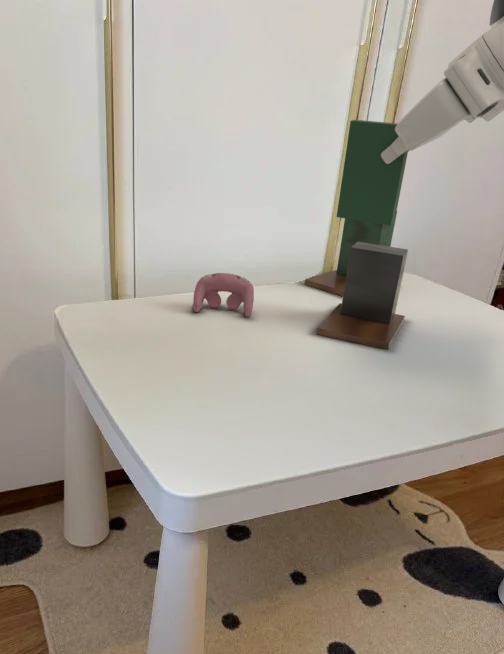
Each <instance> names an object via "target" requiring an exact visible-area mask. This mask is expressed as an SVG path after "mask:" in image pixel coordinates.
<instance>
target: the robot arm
mask: <svg viewBox="0 0 504 654" xmlns="http://www.w3.org/2000/svg"><path fill="white" fill-rule="evenodd" d="M489 26H490V29H489V30H487V31H485V32H484V33H482V34H481V35H480V36H479V37H478V38H477V39H476V40H474V41H473V42H472V43H470V44H469V45H468V46H467V47H466V48H464V50H463V51H461V52H460V53H459V54H458V55H457V56H455V57H454V58H453V59H452V60H451V61H450V62H448V66H447V68H446V69H445V70H444V72H443V76H444V78H443V79H441V80H440V81H439V82H438V83H437V84H436V85H434V86H433V88H431V90H429V91H428V92H427V93H426V94H425V95H424V96H423V97H422V98H421V99H420V100H419V101H418V102H417V103H416V104H415V105H414V106H413V107H412V108H411V109H410V110H409V111H408V112H407V113H406V114H405V115H404V116H403V117H402V118H401V119H400V120H399V122H397V123H396V124H397V126H396V127H395V131H396V133H397V135H398V136H399V137H398V138H397V139H396V140H395V141H394V142H393V143H392V144H391V145H390V146H389V147H388V148H387V149H386V150H384V151H383V152H382V153H381V157H382V159H383V160H384V162H385V163H386V164H389V163H391V162H393V161H394V160H395V159H397V158H398V157H399V156H400V155H402V154H403V153H404V152H406V151H407V150H408V152H412V151H414V150H416V149H418V148H421V147H423V146H424V145H427V144H429V143H431V142H433V141H436V140H438V139H440V138H441V137H443V136H444V135H445V134H447V133H448V132H450V131H451V130H452V129H453V128H454V127H456V126H457V125H458V124H460V123H461V122H463V121H466V122H468V123H469V124H471V123H473V122H474V121H476V119H479V118H480V119H483V120H484V121H485V122H491V121H492V120H493V119H494V118H496V117H497V116H498V115H499V114H501V113H502V112H503V111H504V0H493V3H492V7H491V9H490V16H489Z"/></svg>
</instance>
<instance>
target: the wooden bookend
mask: <svg viewBox="0 0 504 654" xmlns="http://www.w3.org/2000/svg"><path fill="white" fill-rule="evenodd" d="M408 254H409V249H407V248H402V247H395V246H390V247H389V246H383V245H376V244H370V243H364V242H357V243H356V244H354V245H353V246H352V247H351V251H350V257H349V263H348V269H347V275H346V281H345V287H344V294H343V296H342V300H341V303H340V302H339V303H338V304H337V305H336V307H334V309H333V310H332V311H330V313H329V314H328V315H327V317H326V318H325V319H324V320H323V321H322V322H321V323H320V324H319V325H318V327H317V328H316V335H320V336H323V337H328V338H333V339H337V340H342V341H347V342H352V343H355V344H361V345H364V346H365V345H367V346H371V347H375V348H379V349H383V350H389V348H390V347H391V345H392V343H393V341H394V340H395V338H396V336H397V334H398V332H399V331H400V329H401V327H402V325H403V324H404V322H405V318H406V316H405V315H402V314H398V313H396V310H397V306H398V302H399V301H398V300H399V298H400V297H399V296H400V291H401V286H402V281H403V277H404V271H405V267H406V263H407V262H406V261H407V258H408Z"/></svg>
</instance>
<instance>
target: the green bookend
mask: <svg viewBox="0 0 504 654" xmlns="http://www.w3.org/2000/svg"><path fill="white" fill-rule="evenodd" d="M397 214H398V211H397V212H396V217H395V222H394V223H393V224H392V225H391V226H390V225H384V224H378V223H371V222H365V221H358V220H352V219H346V218H344V221H343V227H342V228H343V229H342V233H341V241H340V246H339V254H338V259H337V260H338V261H337V266H336V269H335V270H331V271H328V272H325V273H321V274H318V275H314V276H312V277H311V276H310V277H307V278H305V279H304V285H306V286H309V287H312V288H316V289H318V290H321V291H325V292H327V293H331V294H333V295H337V296H340V297H343V294H344V287H345V281H346V275H347V269H348V263H349V257H350V251H351V247H352V246H353V245H354V244H356V243H357V242H364V243H370V244H376V245H383V246H389V247H392V241H393V235H394V230H395V225H396V220H397Z"/></svg>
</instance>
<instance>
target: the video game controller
mask: <svg viewBox="0 0 504 654" xmlns="http://www.w3.org/2000/svg"><path fill="white" fill-rule="evenodd" d="M219 292H224V293H225V292H226V293H231V294H229V295H228V297H227V298H226V303H225V304H226V305H227V307H228V308H229V309H230V310H232V311H233V310H237V309H239V307H240V306H241V305H242V303H243V311H244V312H243V313H244V316H245V317H250V316H251V315H252V312H253V308H254V301H255V299H254V298H255V291H254V285H253V284H252V282H251V281H250V280H248V279H247V278H246V277H245V276H240V275H237V274H234V273H228V272H215V273H211V274H209V273H208V274H205V275H204V276H201V277H200V279H199V280H198V281H197V282H196V285H195V287H194V291H193V299H192V300H193V302H192V308H193V311H194V313H199V311H200V310H201V309H202V306H203V304H204V300H206V301H207V304H208V306H209V307H211V308H212V309H213V308H214V309H215V308H219V307H220V306H221V304H222V298H221V295H220V294H219Z"/></svg>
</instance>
